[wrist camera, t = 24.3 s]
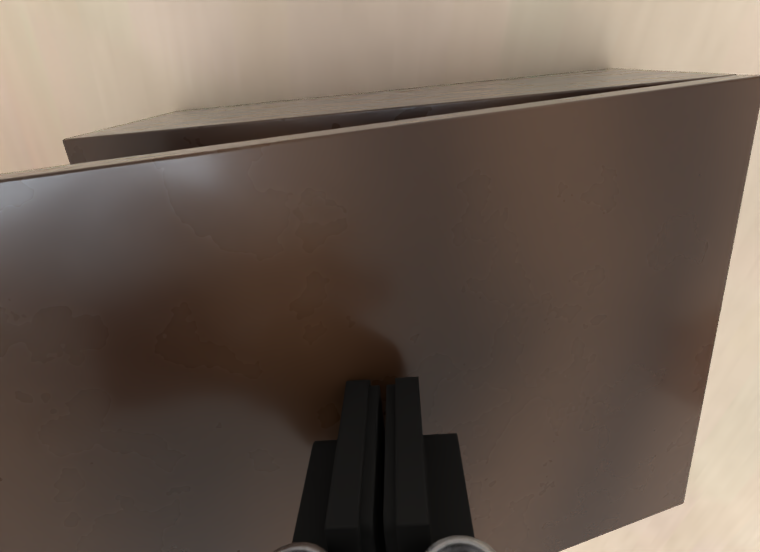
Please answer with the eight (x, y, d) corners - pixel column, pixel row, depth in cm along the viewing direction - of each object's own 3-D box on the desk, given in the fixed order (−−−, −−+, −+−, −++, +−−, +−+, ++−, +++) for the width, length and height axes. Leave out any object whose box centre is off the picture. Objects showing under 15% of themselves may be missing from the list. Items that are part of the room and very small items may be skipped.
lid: (97, 700, 13) (90, 734, 13) (-172, 197, 8) (-209, 208, 7) (665, 486, 18) (684, 503, 17) (735, 74, 13) (767, 74, 12)
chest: (241, 386, 26) (184, 510, 19) (175, 111, 21) (61, 139, 14) (589, 363, 25) (668, 485, 18) (613, 68, 20) (739, 74, 13)
